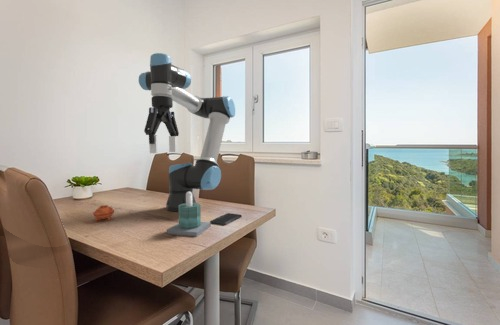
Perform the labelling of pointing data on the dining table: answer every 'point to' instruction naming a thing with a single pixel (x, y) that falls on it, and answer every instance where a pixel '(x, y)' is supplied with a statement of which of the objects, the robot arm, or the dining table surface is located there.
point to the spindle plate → (189, 232)
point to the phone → (225, 219)
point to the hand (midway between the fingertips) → (163, 152)
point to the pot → (103, 212)
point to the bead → (189, 216)
